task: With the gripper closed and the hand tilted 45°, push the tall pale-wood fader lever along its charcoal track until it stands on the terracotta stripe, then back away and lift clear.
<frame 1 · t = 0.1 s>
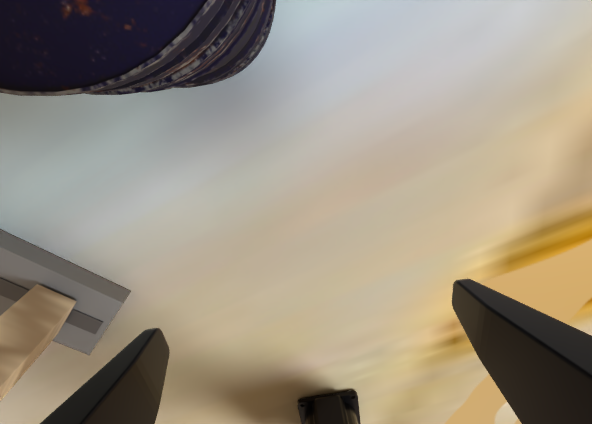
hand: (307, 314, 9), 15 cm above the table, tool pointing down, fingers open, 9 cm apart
fader track: (19, 275, 25), on the table
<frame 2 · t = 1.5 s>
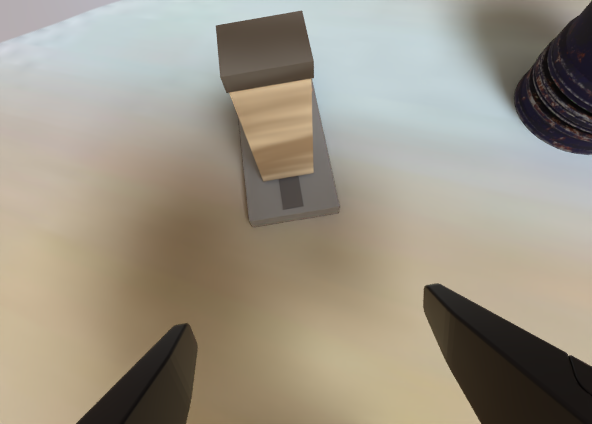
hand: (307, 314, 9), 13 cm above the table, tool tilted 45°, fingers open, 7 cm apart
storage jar: (571, 107, 27), on the table
fader track: (282, 136, 27), on the table
fader lever: (277, 117, 19), point 7 cm above the table, slide at -3.5 cm
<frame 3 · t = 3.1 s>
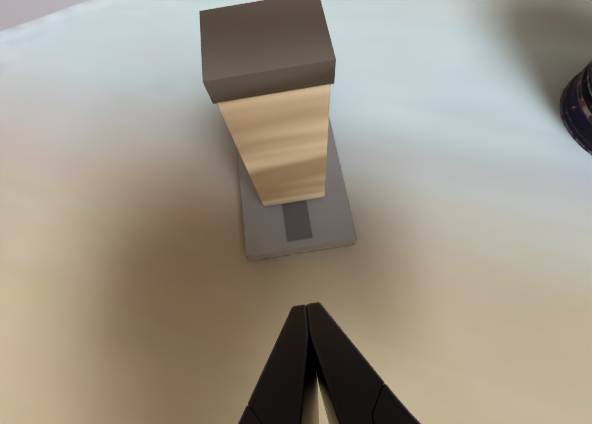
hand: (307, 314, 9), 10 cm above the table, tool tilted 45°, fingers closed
fader track: (286, 151, 23), on the table
fader lever: (281, 132, 15), point 7 cm above the table, slide at -3.5 cm
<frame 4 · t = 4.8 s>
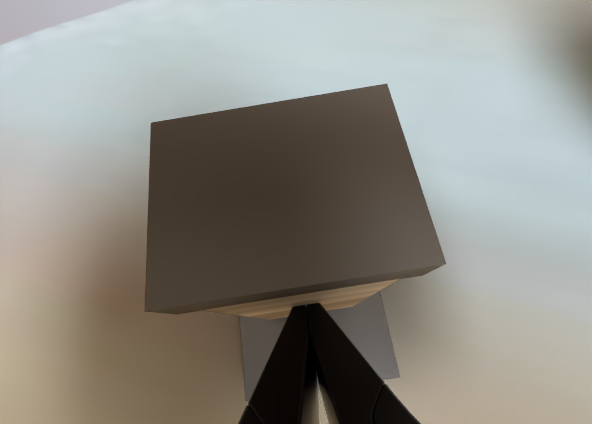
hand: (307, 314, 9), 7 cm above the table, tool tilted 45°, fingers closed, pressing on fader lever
fader track: (298, 230, 18), on the table
fader lever: (299, 258, 10), point 7 cm above the table, slide at -3.2 cm, touching gripper
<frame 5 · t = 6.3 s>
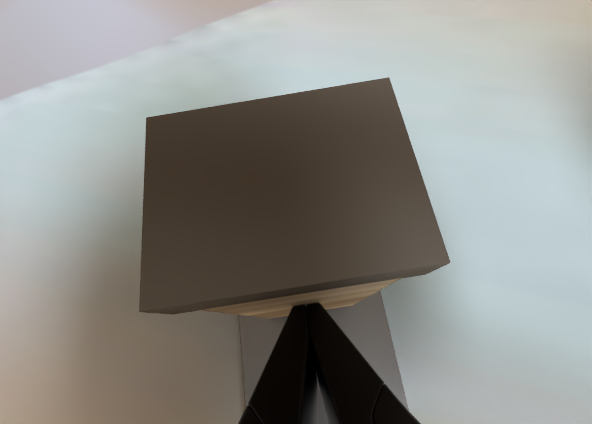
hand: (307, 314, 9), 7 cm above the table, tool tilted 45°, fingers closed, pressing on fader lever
fader track: (318, 359, 15), on the table
fader lever: (299, 256, 10), point 7 cm above the table, slide at 3.7 cm, touching gripper
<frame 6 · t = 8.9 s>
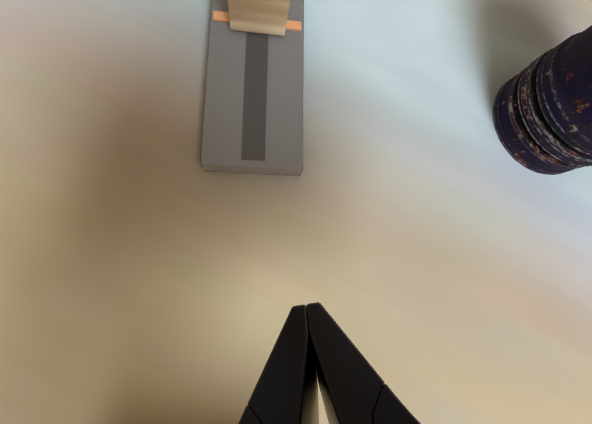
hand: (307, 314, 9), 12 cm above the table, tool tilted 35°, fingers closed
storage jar: (539, 124, 27), on the table
fader track: (256, 75, 24), on the table
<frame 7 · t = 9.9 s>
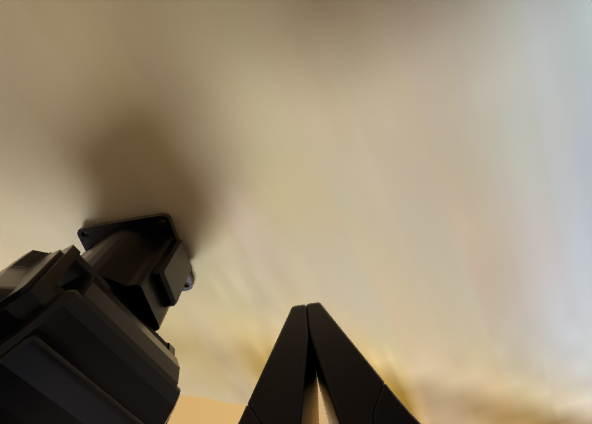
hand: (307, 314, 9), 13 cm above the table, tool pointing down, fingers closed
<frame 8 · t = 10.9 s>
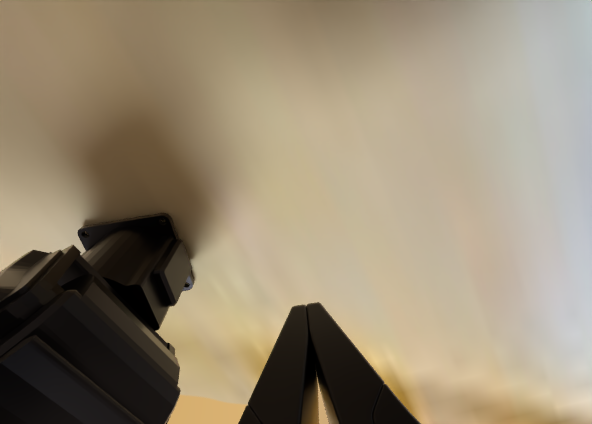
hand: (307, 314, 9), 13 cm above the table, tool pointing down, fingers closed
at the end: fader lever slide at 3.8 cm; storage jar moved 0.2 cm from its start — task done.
